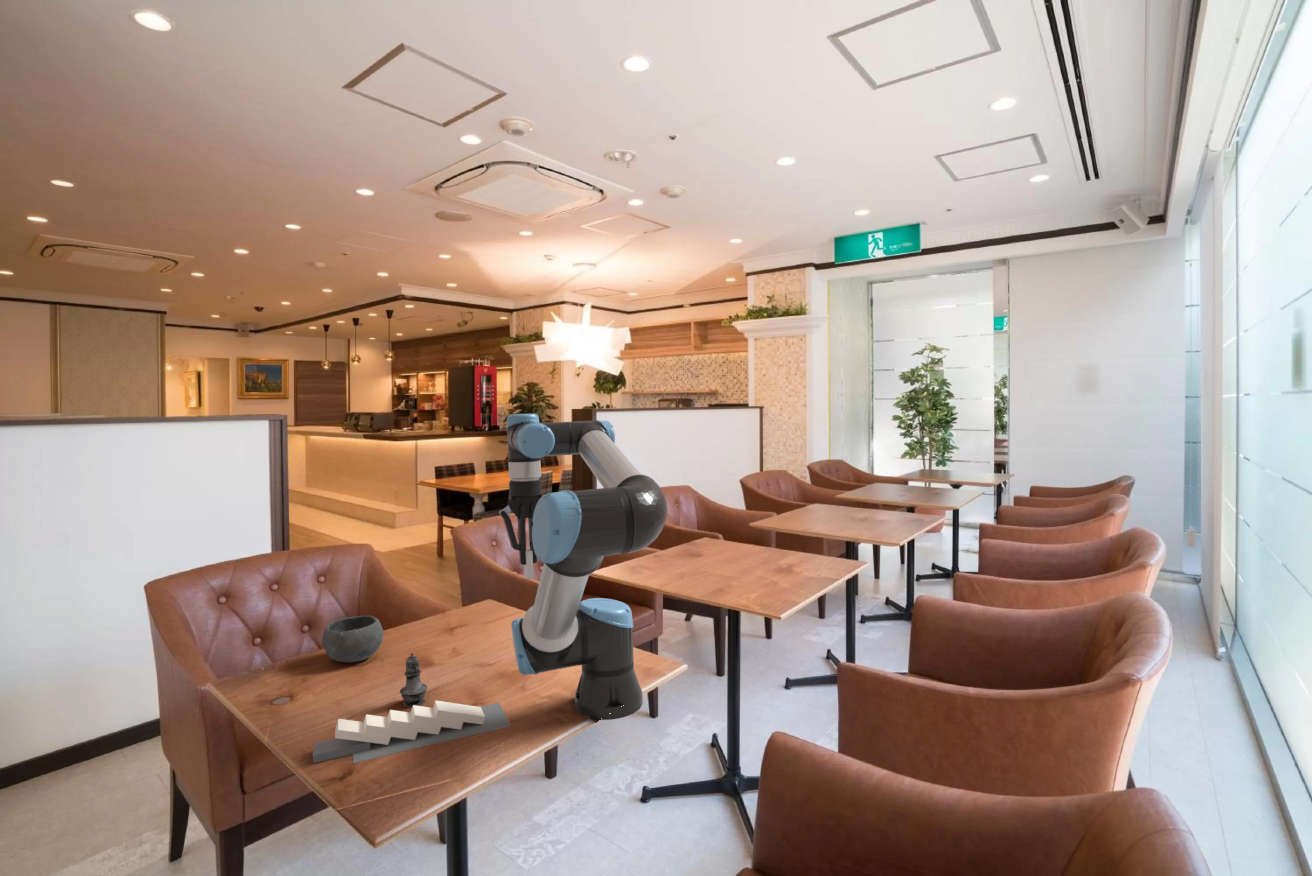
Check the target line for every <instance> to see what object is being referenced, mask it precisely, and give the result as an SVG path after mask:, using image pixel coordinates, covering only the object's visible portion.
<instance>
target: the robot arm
mask: <svg viewBox="0 0 1312 876" xmlns="http://www.w3.org/2000/svg"><path fill="white" fill-rule="evenodd" d="M506 436H507V453H508V454H507V456H508V457H507V461H508V478H509V479H511V480H509V482H508V485H509V487H508V489H509V490H508V491H509V493H508V494H509V500H508V502H507V505H506V506H505V507H503V509H499V511H498V514H499V516H500V517H501V518H502V519H503V522H504V523H503V524H504V527H505V529H506V530H505V531H506V533H507V537H508V541H509V544H510V547H511V548H512V549H513V550H515V551H518V553H519V562H520V565H521V566H523V569H524V570H523V571H524V573H523V574H524V577H525V579H526V580H530V579H534V564H537V562H538V560H539V561H541V562H542V563H543V566H542V570H541V574H540V579H539V583H538V587H537V590H536V595H535V599H534V603H533V605H531V606H530V607H529V608H528V609H527V611H526V612H525V614H524V616H523V617H518V618H516V619H513V620H512V621H511V634H512V642H513V648H514V653H515V654H514V655H515V661H516V665H517V669H518V672H519V673H520V674H522V675H524V676H528V675H538V674H541V673H546V672H551V671H557V670H562V669H567V668H568V669H569V668H572V667H578V666H579V667H580V666H581V674H580V677H579V681H578V684H577V688H576V692H575V694H574V708H575V710H576V711H577V712H578V713H579V714H580V715H582V716H584V717H587V718H590V719H592V720H598V719H600V720H601V721H611V720H618V719H621V718H625V717H628V716H631V715H633V714H635V713H637V712H638V711H639V710H640V709H641V708H642V706H643V702H644V700H643V690H642V688H641V685H640V683H639V679H638V676H637V673H636V671H635V665H634V663H635V662H634V659H635V658H634V657H635V656H634V622H633V621H634V620H633V614H632V613H633V612H632V609H631V608H630V606H629V605H628V604H627V603H625V602H623V601H619V600H616V599H613V598H604V597H602V598H601V597H593V598H586V599H584V600H582V598H583V594H584V591H585V588H586V586H587V582H588V579H589V577H590V575H591V574H593V573H595V571H597V570H598V569H599V567H601V565H602V563H603V560H604V558H605V557H608V556H615V555H616V556H617V555H624V554H630V553H636V552H638V551H641V550H643V549H645V548H647V547H648V546H650V545H651V544H652V543H653V542H654V541H655V540H656V539H658V537H659V535H660V534H661V532H662V531H663V529H664V526H665V525H666V522H667V517H668V504H667V498H666V496H665V494H664V492H663V489H662V488H661V487H660V485H659V484H658V483H657V482H656V481H655V480H654V479H653V478H652V477H650V476H649V475H646V474H643V473H641V472H640V471H639V470H638V469H637V467H635V465H634V464H633V463H632V462H631V461H630V459H628V457H627V456H626V455H625V454H624V453H623V451H622V450H621V449H620V448H619V447H618V446H617V444H616V433H615V429H614V426H613V424H612V423H611V421H609V420H597V419H592V420H578V421H575V420H574V421H557V422H555V421H554V422H553V421H551V422H540V417H539V415H538V414H536V413H515V414H514V413H513V414H508V416H507V418H506ZM573 455H579V456H580V457H581V458H582V459H583V461H584V462H585V464H586V465H587V466H588V468H589V469H590V471H591V472H592V474H593V476H594V477H595V478H596V479H597V481H598V482H599V484H600V485H601V488H591V489H589V488H588V489H579V490H569V489H564V490H563V489H562V490H559V491H556V492H549V493H546V494H544V495H543V491H542V490H543V489H542V480H541V477H542V467H541V466H542V465H541V459H542V458H544V457H555V456H557V457H558V456H573ZM511 513H513V514H514V515H515V517H516V519H517V532H518V533H517V534H518V536H516V534H515V529H514V527H513V524H512V520H511V518H510V517H511ZM526 521H528V540H529V544H528V545H529V548H527V537H526V536H527V534H526V523H527V522H526ZM517 538H518V539H517ZM517 540H518V541H517ZM623 705H624V706H623ZM621 706H622V707H621ZM609 713H611V714H609ZM601 718H602V719H601Z"/></svg>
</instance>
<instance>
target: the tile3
mask: <svg viewBox="0 0 1312 876" xmlns="http://www.w3.org/2000/svg"><path fill="white" fill-rule="evenodd" d="M386 717H387V719H388V727H389V728H391V729H399V730H406V731H414V732H422V733H429V734H437V735H438V734H439V732H440V729H441V727H438V726H431V725H423V724H416V723H412V718H411V713H410V712H408V711H402V710H394V709H389V711H388V715H387V716H386Z"/></svg>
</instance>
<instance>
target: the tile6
mask: <svg viewBox="0 0 1312 876" xmlns="http://www.w3.org/2000/svg"><path fill="white" fill-rule="evenodd" d="M312 749H313V750H312V764H316V763H321V762H325V761H329V760H334V759H338V758H342V757H347V756H351V755H352V756H353V754H356V753H361V752H365V751H369V750H370V742H362V741H355V740H347V739H339V738H335V737H334V738H331V739H326V740H322V741H317V742H314V743H313V747H312Z"/></svg>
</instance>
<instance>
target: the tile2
mask: <svg viewBox="0 0 1312 876" xmlns="http://www.w3.org/2000/svg"><path fill="white" fill-rule="evenodd" d="M409 713H411V718H412V723H416V724H423V725H431V726H438V727H446V728H453V729H461V728H462V725H463V722H461V721H454V720H447V719H439V718H435V714H434V710H433V707H429V706H424V705H423V706H422V705H419V706H416V705H413V707H411V710H410V712H409Z"/></svg>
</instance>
